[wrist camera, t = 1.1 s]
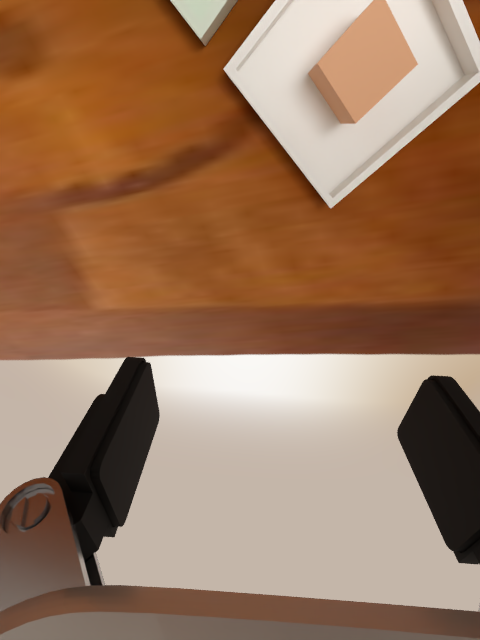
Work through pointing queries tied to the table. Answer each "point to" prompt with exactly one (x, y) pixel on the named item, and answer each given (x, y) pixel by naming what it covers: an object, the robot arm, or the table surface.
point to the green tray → (204, 15)
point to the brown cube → (363, 64)
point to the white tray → (312, 109)
